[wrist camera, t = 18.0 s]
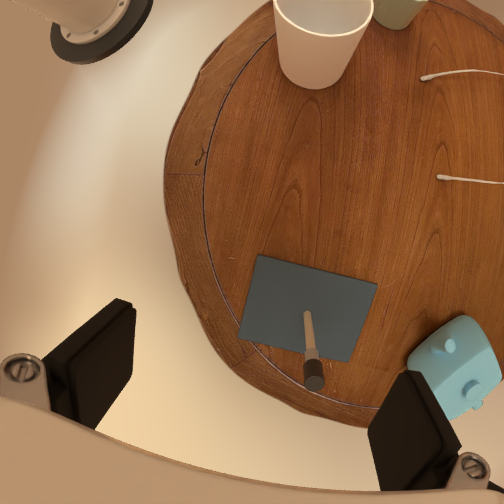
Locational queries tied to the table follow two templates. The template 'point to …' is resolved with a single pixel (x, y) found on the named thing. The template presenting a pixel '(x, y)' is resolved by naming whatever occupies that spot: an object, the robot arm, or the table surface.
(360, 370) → the table surface
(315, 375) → the brush
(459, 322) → the teapot
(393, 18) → the tumbler
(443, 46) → the table surface
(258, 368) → the table surface
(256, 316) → the mat
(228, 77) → the table surface
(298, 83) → the cup
